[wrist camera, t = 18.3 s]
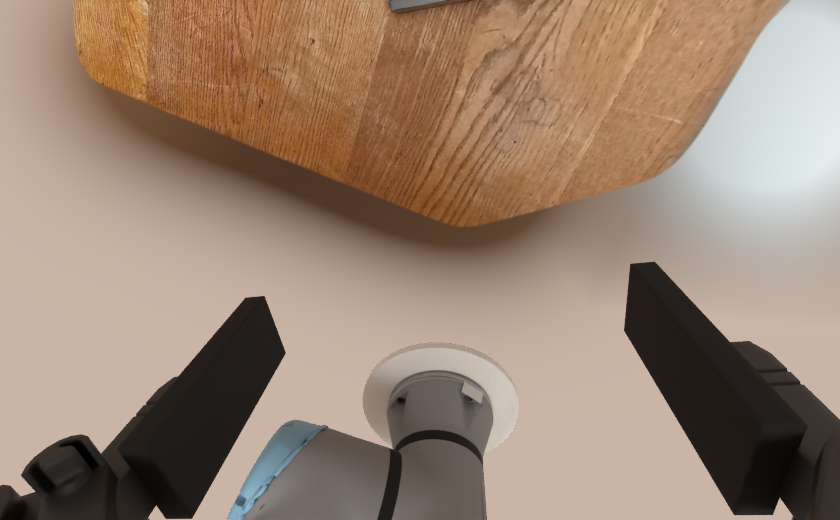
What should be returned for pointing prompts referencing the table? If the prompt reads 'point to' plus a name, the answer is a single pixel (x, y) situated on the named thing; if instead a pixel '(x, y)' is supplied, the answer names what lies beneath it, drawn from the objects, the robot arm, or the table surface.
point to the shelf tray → (419, 4)
